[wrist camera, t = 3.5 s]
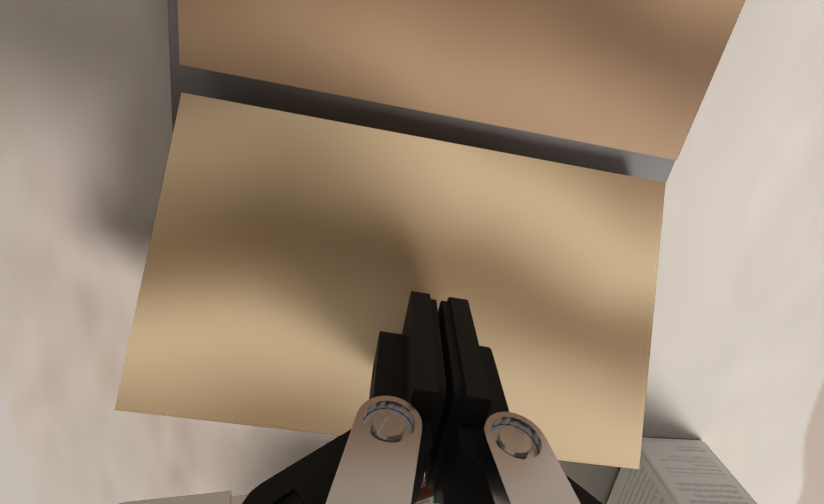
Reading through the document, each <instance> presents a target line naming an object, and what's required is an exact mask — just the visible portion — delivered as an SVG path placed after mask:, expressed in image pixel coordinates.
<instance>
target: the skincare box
mask: <svg viewBox="0 0 824 504" xmlns="http://www.w3.org/2000/svg"><path fill="white" fill-rule="evenodd" d="M607 504H757V503H756V502H755V501H754V500H753V499H752V497H751V496H750V495H749V494H748V493H747V491H746V490H745V489H744V488H743V487H742V485H741V484H740V483H739V482H738V481H737V480H736V478H735V477H734V476H733V475H732V474H731V473H730V471H729V470H728V469H727V468H726V467H725V466H724V464H723V463H722V462H721V461H720V460H719V458H718V457H717V456H716V455H715V454H714V453H713V452H712V450H711V449H710V448H709V447H708V446H707V444H706V443H705V442H703V441H701V440H687V439H663V438H646V437H642V444H641V454H640V465H639V469H632V468H623V467H621V469H620V471H619V474H618V476H617V479H616V481H615V484H614V486H613V489H612V491H611V494H610V496H609V499H608V501H607Z"/></svg>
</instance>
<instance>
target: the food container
mask: <svg viewBox="0 0 824 504" xmlns="http://www.w3.org/2000/svg"><path fill="white" fill-rule="evenodd" d="M413 504H439V503H434V496H433V488H431V487H427V486H426V487H423V488H421V489H420V490H419V493H418V497H417V500H416V501H415V502H414V503H413Z"/></svg>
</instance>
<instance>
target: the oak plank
mask: <svg viewBox="0 0 824 504" xmlns="http://www.w3.org/2000/svg"><path fill="white" fill-rule="evenodd" d="M664 193H665V183H664V182H659V181H653V180H648V179H643V178H637V177H632V176H627V175H621V174H616V173H611V172H605V171H600V170H595V169H589V168H584V167H578V166H573V165H568V164H562V163H557V162H552V161H546V160H541V159H536V158H530V157H525V156H519V155H514V154H509V153H503V152H498V151H493V150H487V149H482V148H477V147H471V146H466V145H460V144H455V143H450V142H444V141H439V140H434V139H428V138H423V137H418V136H412V135H407V134H401V133H396V132H391V131H385V130H380V129H375V128H369V127H364V126H359V125H353V124H348V123H343V122H337V121H332V120H326V119H321V118H316V117H310V116H305V115H300V114H294V113H289V112H284V111H278V110H273V109H267V108H262V107H257V106H251V105H246V104H241V103H235V102H230V101H225V100H219V99H214V98H208V97H203V96H198V95H192V94H187V93H181V98H180V102H179V107H178V112H177V117H176V121H175V126H174V131H173V136H172V140H171V145H170V150H169V155H168V159H167V164H166V169H165V174H164V178H163V183H162V188H161V193H160V197H159V202H158V207H157V212H156V216H155V221H154V226H153V231H152V235H151V240H150V245H149V250H148V254H147V259H146V264H145V269H144V273H143V278H142V283H141V288H140V292H139V297H138V302H137V307H136V311H135V316H134V321H133V326H132V330H131V335H130V340H129V345H128V349H127V354H126V359H125V364H124V368H123V373H122V378H121V383H120V387H119V392H118V397H117V402H116V406H115V410H119V411H128V412H137V413H146V414H155V415H163V416H172V417H181V418H190V419H199V420H208V421H216V422H225V423H234V424H243V425H252V426H261V427H270V428H278V429H287V430H296V431H305V432H314V433H323V434H331V435H342V434H344V433H345V432H347V431H349V430H350V429H352V426H353V423H354V420H355V417H356V415H357V412H358V410H359V409H360V407H361V405H362V404H364V403H365V402H366V401H367V400H369V395H370V386H371V378H372V371H373V364H374V358H375V352H376V347H377V341H378V336H379V332H380V331H384V332H391V333H397V334H402V331H403V326H404V321H405V316H406V312H407V307H408V302H409V298H410V294H411V291H415V292H422V293H428V294H430V298H431V299H435V300H436V301H437V309H439V305H440V302H441V301H447V299H448V298H449V297H454V298H460V299H466V300H468V302H469V306H470V310H471V314H472V318H473V322H474V326H475V330H476V334H477V338H478V342H479V346H485V347H489V348H491V350H492V353H493V356H494V360H495V363H496V367H497V370H498V374H499V377H500V381H501V384H502V388H503V391H504V395H505V398H506V402H507V405H508V409H509V412H511V413H516V414H518V415H521V416H524V417H525V418H527V419H528V420H530V421H532V422H533V423H534V424H535V425H536V426H537V427H538V428H539V429H540V430H541V431H542V433H543V434H544V435H545V437H546V439H547V441H548V443H549V445H550V446H551V448H552V450H553V452H554V454H555V456H556V458H557V460H561V461H570V462H579V463H588V464H597V465H605V466H614V467H623V468H632V469H639V465H640V454H641V444H642V433H643V422H644V411H645V400H646V389H647V378H648V367H649V356H650V346H651V335H652V324H653V313H654V302H655V291H656V280H657V269H658V258H659V248H660V237H661V226H662V215H663V204H664Z"/></svg>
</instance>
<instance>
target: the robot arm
mask: <svg viewBox="0 0 824 504" xmlns="http://www.w3.org/2000/svg"><path fill="white" fill-rule="evenodd" d="M424 473H425V479H426V486H427V487H431V488H433V496H434V503H439V504H602V503H601V502H600V501H598V500H597V499H596V498H594V497H593V496H592V495H591V494H589V493H588V492H587V491H586V490H584V489H583V488H582V487H581V486H579V485H578V484H577V483H575V482H574V481H573V480H572V479H570V478H569V477H568V476H567V475H565V473H564V471H563V469H562V467H561V465H560V464H559V462H558V460H557V458H556V456H555V454H554V452H553V450H552V448H551V446H550V445H549V443H548V441H547V439H546V437H545V435H544V434H543V433H542V431H541V430H540V429H539V428H538V427H537V426H536V425H535V424H534V423H533V422H532V421H530V420H528V419H527V418H525V417H524V416H521V415H518V414H516V413H511V412H509V409H508V405H507V402H506V398H505V395H504V391H503V388H502V384H501V381H500V377H499V374H498V370H497V367H496V363H495V360H494V356H493V353H492V350H491V348H489V347H485V346H479V342H478V338H477V334H476V330H475V326H474V322H473V318H472V314H471V310H470V306H469V302H468V300H466V299H460V298H454V297H449V298H448V299H447V301H441V302H440V305H439V309H437V301H436V300H435V299H431V298H430V294H428V293H422V292H415V291H411V294H410V298H409V302H408V307H407V312H406V316H405V321H404V326H403V331H402V334H397V333H391V332H384V331H380V332H379V336H378V341H377V347H376V352H375V358H374V364H373V371H372V378H371V386H370V395H369V400H367V401H366V402H365V403H364V404H362V405H361V407H360V409H359V410H358V412H357V415H356V417H355V420H354V423H353V426H352V429H350V430H349V431H347V432H345V433H344V434H342V435H340V436H339V437H337V438H335V439H334V440H332V441H331V442H329V443H327V444H326V445H324V446H322V447H321V448H319V449H317V450H316V451H314V452H312V453H311V454H309V455H307V456H306V457H304V458H303V459H301V460H299V461H298V462H296V463H294V464H293V465H291V466H289V467H288V468H286V469H284V470H283V471H281V472H279V473H278V474H276V475H275V476H273V477H271V478H270V479H268V480H266V481H265V482H263V483H261V484H260V485H259V486H257V487H256V488H255V489H254V490H252V491H251V492H250V493H249V495H240V496H231V491H224V492H215V493H206V494H196V495H187V496H178V497H168V498H159V499H150V500H140V501H131V502H123V503H120V504H413V503H414V502H415V501H416V500H417V497H418V493H419V490H420V486H421V484H422V480H423V477H424Z"/></svg>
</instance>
